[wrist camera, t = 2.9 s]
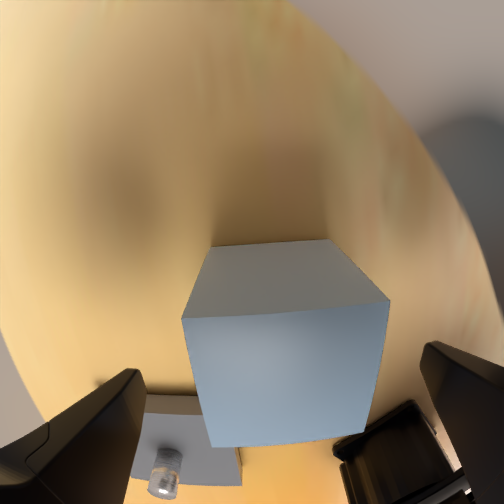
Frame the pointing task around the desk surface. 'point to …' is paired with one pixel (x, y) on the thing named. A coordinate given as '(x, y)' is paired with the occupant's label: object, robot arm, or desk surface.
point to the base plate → (181, 449)
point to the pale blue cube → (284, 343)
